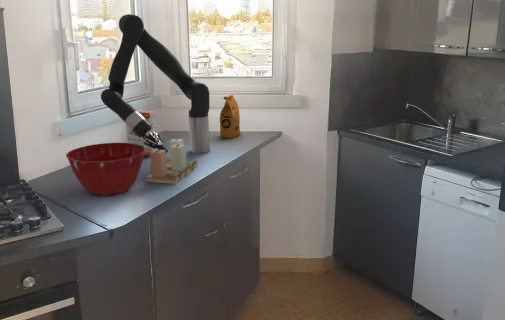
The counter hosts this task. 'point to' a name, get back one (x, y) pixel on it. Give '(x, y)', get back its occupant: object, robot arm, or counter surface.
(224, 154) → the counter surface
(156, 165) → the key
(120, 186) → the mixing bowl
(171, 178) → the board
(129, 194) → the counter surface
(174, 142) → the grey rectangular block
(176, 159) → the grey green block
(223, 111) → the coffee package
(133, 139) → the cracker box
